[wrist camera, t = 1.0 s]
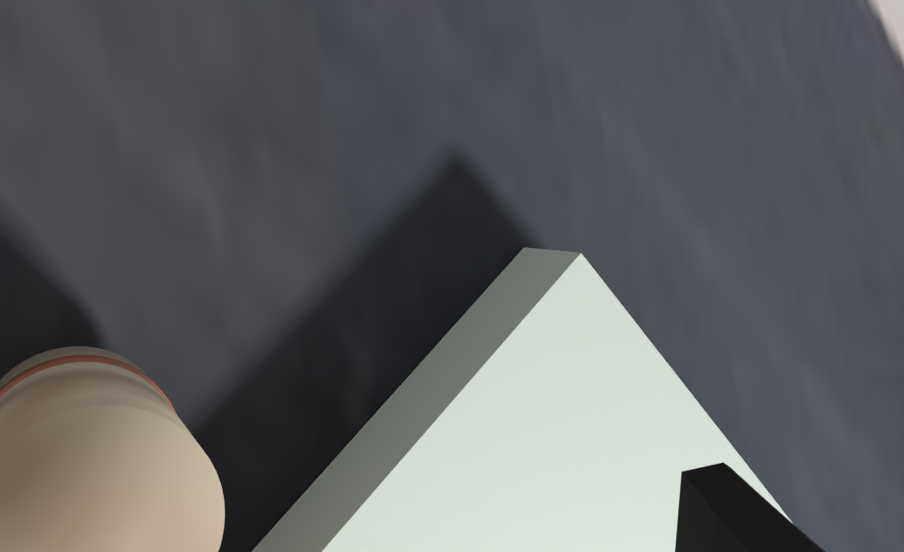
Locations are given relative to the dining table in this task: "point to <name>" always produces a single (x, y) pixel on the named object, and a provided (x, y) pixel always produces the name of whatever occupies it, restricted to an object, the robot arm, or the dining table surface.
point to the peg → (100, 461)
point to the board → (520, 434)
